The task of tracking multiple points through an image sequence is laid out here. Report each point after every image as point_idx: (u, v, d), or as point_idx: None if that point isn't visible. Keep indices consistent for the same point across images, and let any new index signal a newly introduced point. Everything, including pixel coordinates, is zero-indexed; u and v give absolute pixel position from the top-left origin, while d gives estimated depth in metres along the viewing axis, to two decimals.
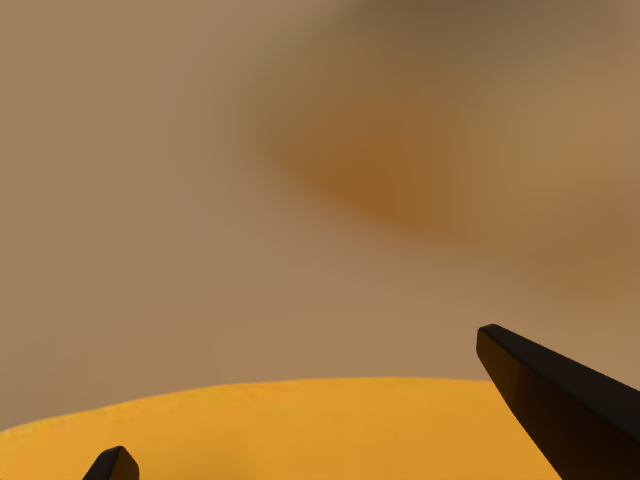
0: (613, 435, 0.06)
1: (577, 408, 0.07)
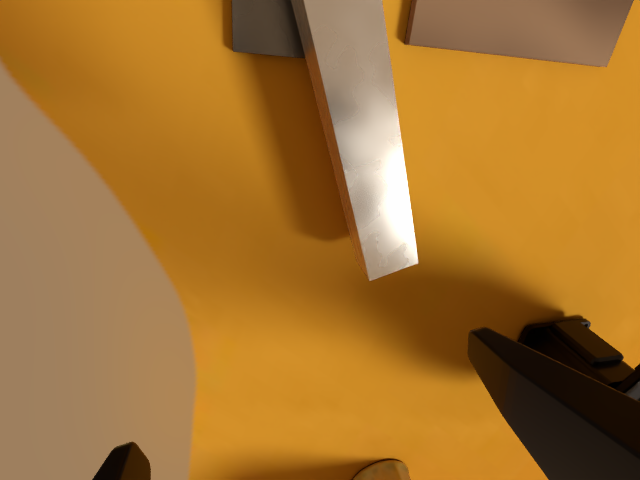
0: (600, 440, 0.06)
1: (565, 413, 0.07)
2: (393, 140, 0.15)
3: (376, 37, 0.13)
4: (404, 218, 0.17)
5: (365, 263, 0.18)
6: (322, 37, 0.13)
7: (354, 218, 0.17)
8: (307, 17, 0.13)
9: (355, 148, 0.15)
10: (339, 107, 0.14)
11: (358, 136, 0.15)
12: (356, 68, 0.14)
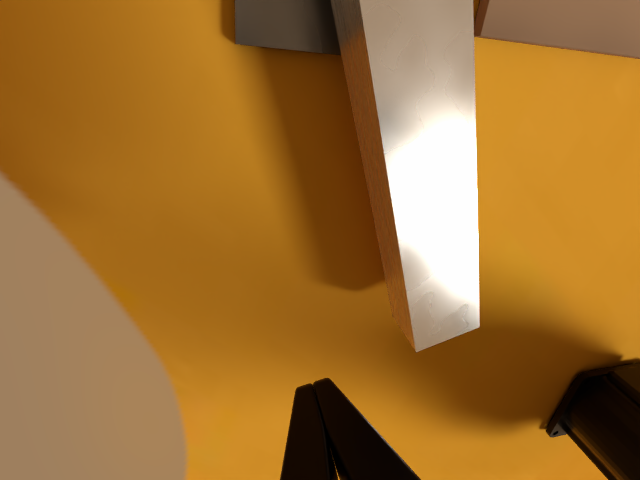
0: None
1: None
2: (465, 173, 0.11)
3: (458, 22, 0.09)
4: (468, 274, 0.13)
5: (412, 331, 0.14)
6: (378, 21, 0.08)
7: (403, 277, 0.12)
8: None
9: (413, 186, 0.11)
10: (395, 128, 0.10)
11: (418, 168, 0.10)
12: (424, 70, 0.09)
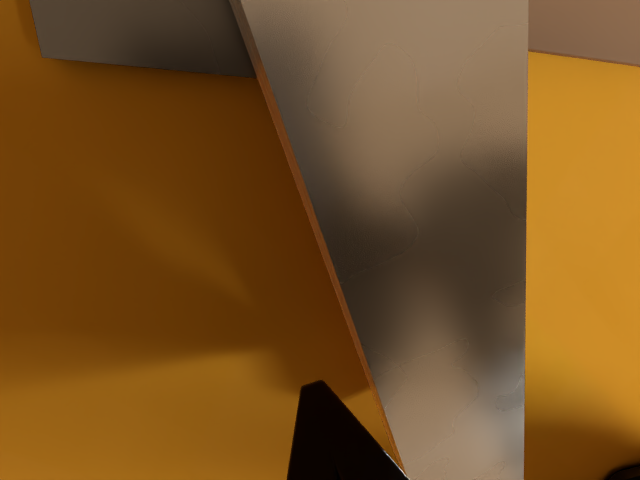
0: None
1: None
2: (505, 295, 0.06)
3: (491, 8, 0.04)
4: (507, 427, 0.08)
5: None
6: (288, 16, 0.03)
7: (396, 445, 0.07)
8: None
9: (405, 327, 0.06)
10: (358, 238, 0.05)
11: (412, 298, 0.05)
12: (413, 122, 0.04)
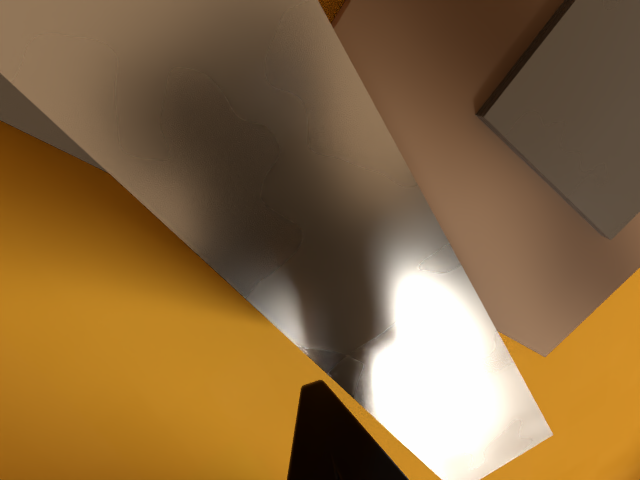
0: None
1: None
2: (433, 263, 0.05)
3: None
4: (505, 386, 0.07)
5: None
6: (60, 78, 0.03)
7: None
8: None
9: (335, 319, 0.06)
10: (240, 252, 0.05)
11: (329, 292, 0.05)
12: (239, 130, 0.04)
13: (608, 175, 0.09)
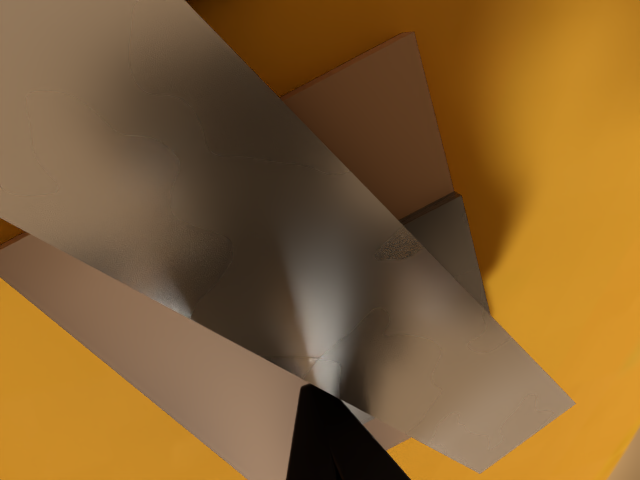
0: None
1: None
2: (390, 250, 0.05)
3: None
4: (508, 364, 0.07)
5: (456, 458, 0.08)
6: None
7: (386, 420, 0.07)
8: None
9: (295, 324, 0.05)
10: (169, 273, 0.04)
11: (280, 298, 0.05)
12: (126, 147, 0.04)
13: None
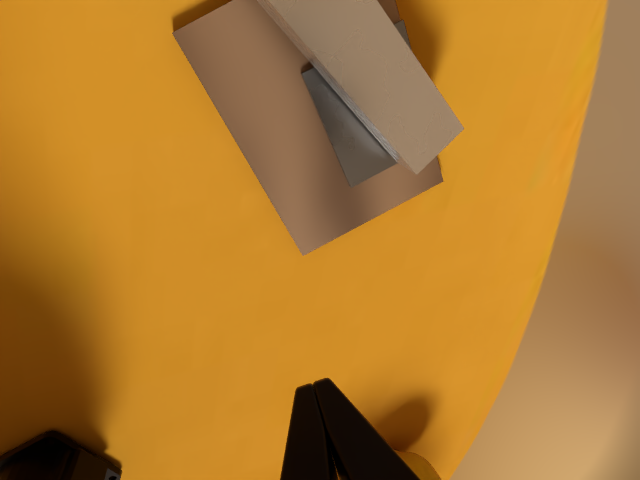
0: None
1: None
2: None
3: None
4: (421, 84, 0.14)
5: (402, 157, 0.16)
6: None
7: (364, 113, 0.14)
8: None
9: (324, 32, 0.13)
10: None
11: (318, 15, 0.12)
12: None
13: (355, 145, 0.18)
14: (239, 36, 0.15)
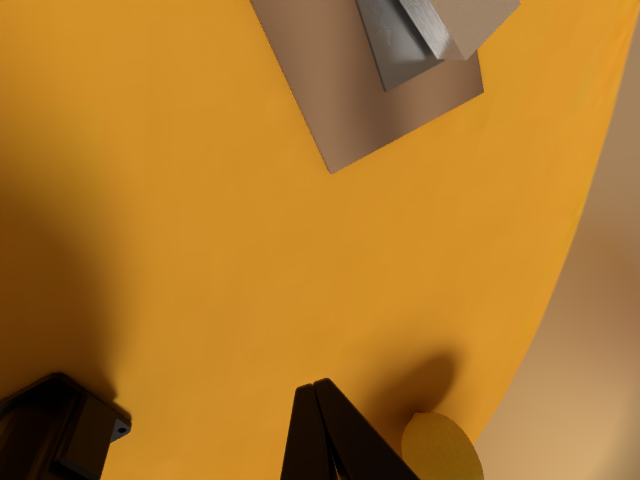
0: None
1: None
2: None
3: None
4: None
5: (451, 37, 0.14)
6: None
7: None
8: None
9: None
10: None
11: None
12: None
13: (393, 39, 0.16)
14: None
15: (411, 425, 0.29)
